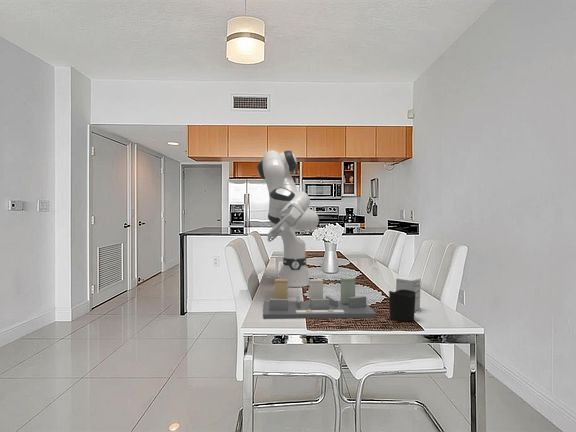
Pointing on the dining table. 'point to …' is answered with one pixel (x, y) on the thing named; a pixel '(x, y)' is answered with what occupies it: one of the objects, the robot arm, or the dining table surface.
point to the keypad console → (318, 308)
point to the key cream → (315, 289)
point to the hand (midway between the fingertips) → (274, 235)
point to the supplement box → (410, 287)
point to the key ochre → (281, 288)
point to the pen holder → (402, 305)
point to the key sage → (347, 289)
